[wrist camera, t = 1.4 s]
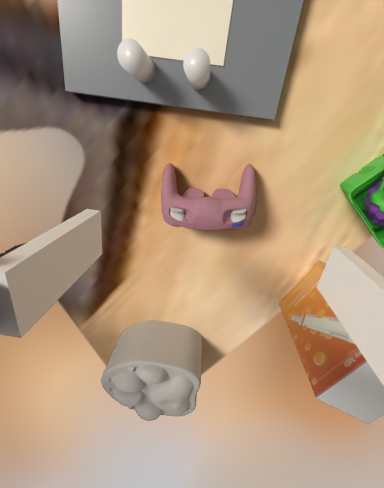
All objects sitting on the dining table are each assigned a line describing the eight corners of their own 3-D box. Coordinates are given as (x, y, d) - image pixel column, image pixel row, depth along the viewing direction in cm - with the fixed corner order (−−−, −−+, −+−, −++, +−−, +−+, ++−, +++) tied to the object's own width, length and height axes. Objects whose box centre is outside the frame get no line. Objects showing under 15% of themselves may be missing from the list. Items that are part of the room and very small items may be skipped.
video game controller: (167, 193, 28) (158, 237, 24) (162, 159, 25) (151, 203, 21) (250, 194, 28) (256, 240, 23) (257, 159, 24) (266, 205, 20)
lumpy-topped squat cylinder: (195, 373, 39) (192, 432, 31) (119, 362, 40) (97, 417, 32) (205, 327, 35) (203, 382, 27) (119, 314, 35) (92, 365, 27)
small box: (318, 258, 29) (392, 343, 17) (357, 282, 30) (453, 377, 18) (276, 303, 32) (314, 400, 20) (313, 322, 33) (370, 426, 21)
